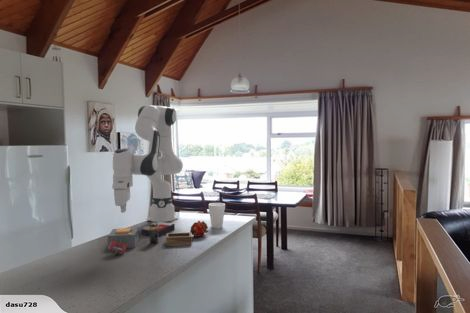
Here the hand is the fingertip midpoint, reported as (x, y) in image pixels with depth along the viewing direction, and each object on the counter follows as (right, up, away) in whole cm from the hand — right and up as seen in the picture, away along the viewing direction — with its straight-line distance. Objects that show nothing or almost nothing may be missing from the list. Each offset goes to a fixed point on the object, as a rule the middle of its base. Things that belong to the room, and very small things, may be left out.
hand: (123, 212), depth 163 cm
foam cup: (+43, -14, +33) cm, 56 cm away
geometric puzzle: (+2, -17, -13) cm, 21 cm away
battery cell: (+14, -16, +3) cm, 21 cm away
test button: (0, -12, +1) cm, 12 cm away
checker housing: (0, -16, +1) cm, 16 cm away
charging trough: (+26, -16, +3) cm, 30 cm away
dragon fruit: (+34, -15, +14) cm, 40 cm away
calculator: (+12, -15, +23) cm, 30 cm away
